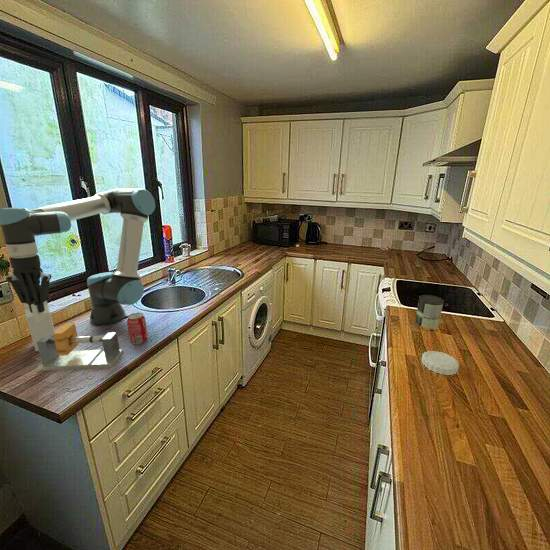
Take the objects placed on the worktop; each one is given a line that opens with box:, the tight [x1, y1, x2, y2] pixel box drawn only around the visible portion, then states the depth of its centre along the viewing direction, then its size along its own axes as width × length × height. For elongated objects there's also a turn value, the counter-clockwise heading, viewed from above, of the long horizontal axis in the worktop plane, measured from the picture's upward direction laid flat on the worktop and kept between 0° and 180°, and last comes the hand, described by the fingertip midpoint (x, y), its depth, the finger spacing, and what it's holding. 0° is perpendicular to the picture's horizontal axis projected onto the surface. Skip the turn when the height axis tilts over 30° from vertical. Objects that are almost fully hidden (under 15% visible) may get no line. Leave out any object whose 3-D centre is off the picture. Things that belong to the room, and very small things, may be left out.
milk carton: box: [23, 300, 56, 352], centre depth 115 cm, size 7×7×19 cm
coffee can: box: [414, 294, 445, 329], centre depth 135 cm, size 10×10×14 cm
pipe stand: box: [37, 331, 124, 372], centre depth 106 cm, size 25×10×10 cm, turn 96°
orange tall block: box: [53, 322, 80, 356], centre depth 104 cm, size 3×8×9 cm, turn 6°
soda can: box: [126, 312, 149, 345], centre depth 119 cm, size 7×7×12 cm
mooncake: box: [420, 350, 460, 376], centre depth 105 cm, size 12×12×4 cm
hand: (39, 320), depth 101 cm, fingers closed
